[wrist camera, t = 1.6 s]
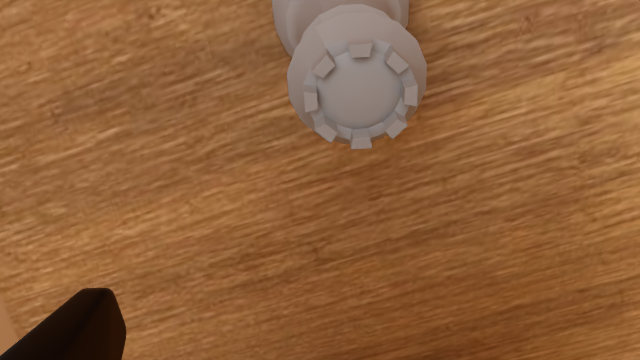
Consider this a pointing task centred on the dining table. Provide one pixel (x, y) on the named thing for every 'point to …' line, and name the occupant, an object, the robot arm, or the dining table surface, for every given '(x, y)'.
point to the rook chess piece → (351, 67)
